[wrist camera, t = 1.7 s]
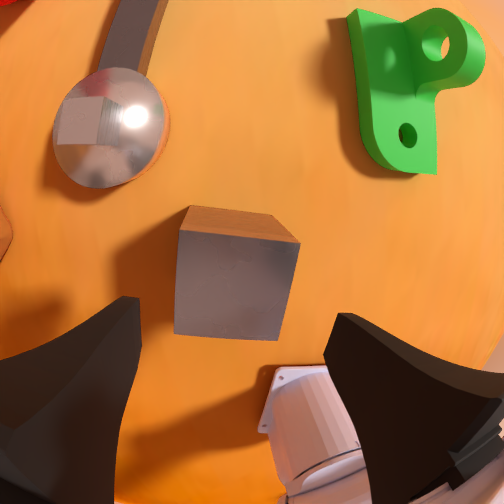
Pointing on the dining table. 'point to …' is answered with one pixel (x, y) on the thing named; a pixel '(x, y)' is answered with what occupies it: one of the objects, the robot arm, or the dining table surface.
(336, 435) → the robot arm
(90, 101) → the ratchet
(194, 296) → the grey square block
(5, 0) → the tomato
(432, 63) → the mechanical part
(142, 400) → the dining table surface
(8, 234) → the coffee package
